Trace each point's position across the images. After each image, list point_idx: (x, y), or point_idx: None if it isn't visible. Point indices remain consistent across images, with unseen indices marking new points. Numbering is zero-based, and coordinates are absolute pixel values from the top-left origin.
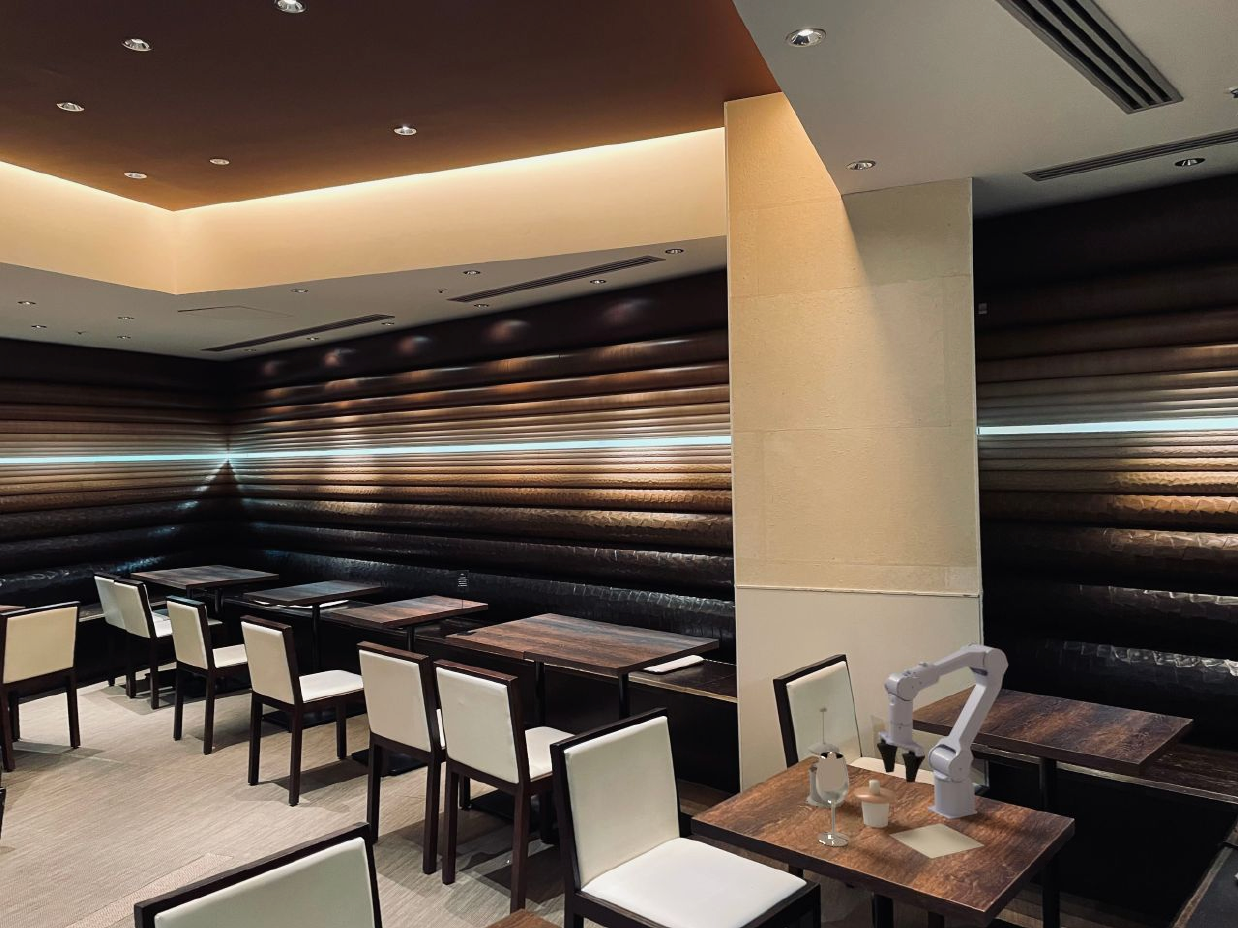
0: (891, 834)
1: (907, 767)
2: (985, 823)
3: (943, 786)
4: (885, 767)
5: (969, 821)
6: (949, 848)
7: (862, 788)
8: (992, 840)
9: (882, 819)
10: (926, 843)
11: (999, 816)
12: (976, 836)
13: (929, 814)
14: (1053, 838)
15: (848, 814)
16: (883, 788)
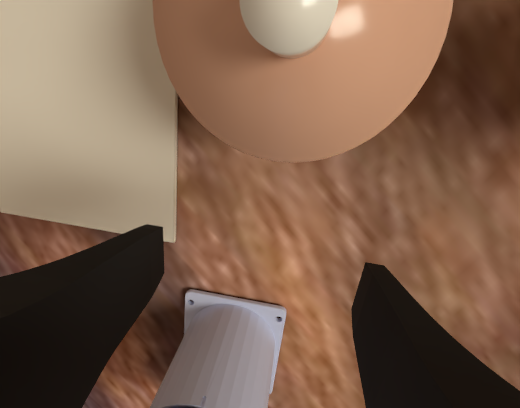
0: None
1: (49, 268)
2: (131, 335)
3: (184, 382)
4: (386, 279)
5: (158, 318)
6: (4, 99)
7: (422, 16)
8: (37, 261)
9: None
10: (59, 62)
11: (151, 390)
12: (71, 250)
13: (253, 279)
14: None
15: (458, 13)
16: (323, 149)
